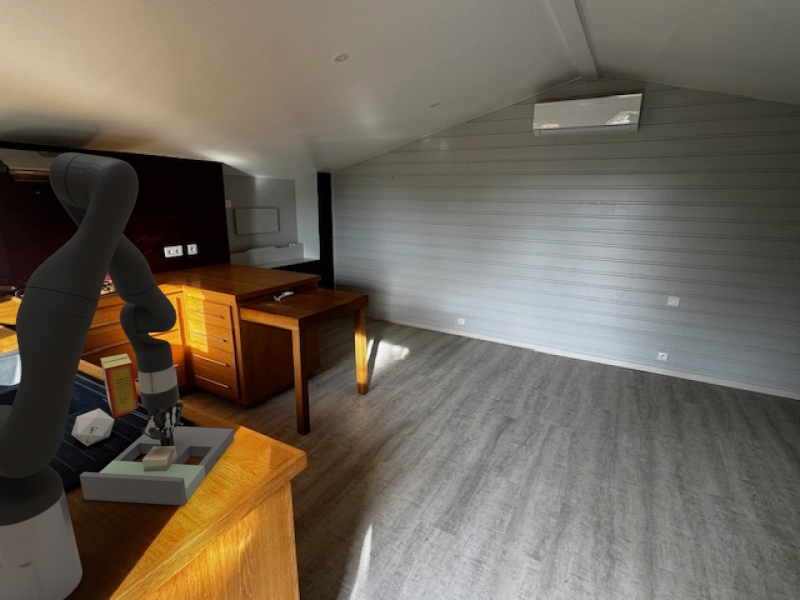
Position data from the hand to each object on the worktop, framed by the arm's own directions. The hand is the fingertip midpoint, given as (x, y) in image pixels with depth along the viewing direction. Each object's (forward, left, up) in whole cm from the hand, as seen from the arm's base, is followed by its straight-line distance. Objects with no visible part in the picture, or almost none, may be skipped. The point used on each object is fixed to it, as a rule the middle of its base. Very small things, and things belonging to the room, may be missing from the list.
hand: (168, 448), depth 98 cm
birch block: (-4, -1, -1) cm, 5 cm away
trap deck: (-1, 0, -4) cm, 4 cm away
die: (+7, +25, -4) cm, 26 cm away
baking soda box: (+23, +29, -4) cm, 37 cm away
